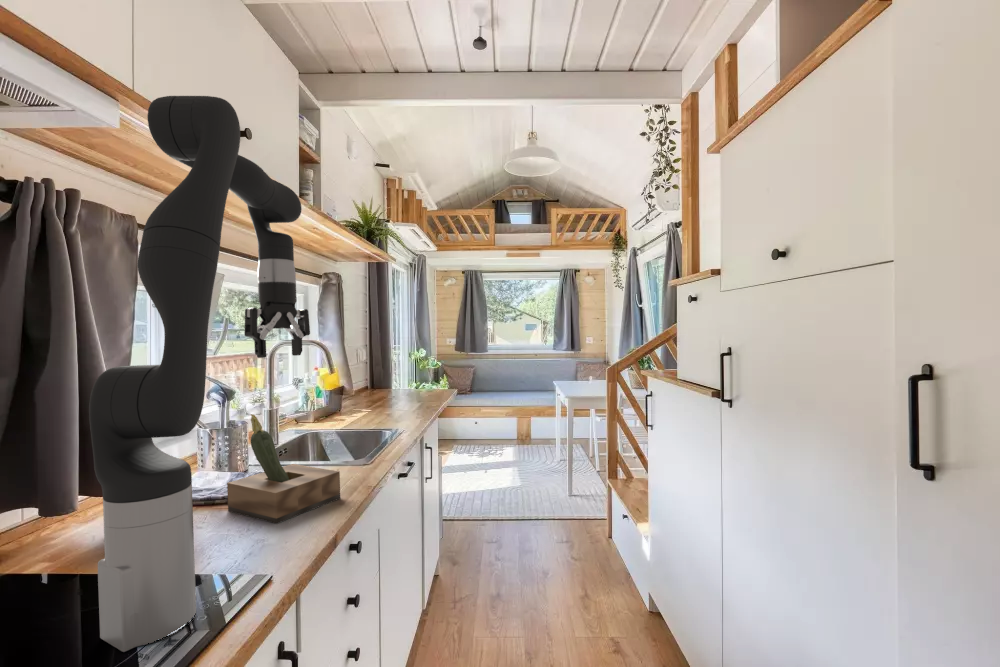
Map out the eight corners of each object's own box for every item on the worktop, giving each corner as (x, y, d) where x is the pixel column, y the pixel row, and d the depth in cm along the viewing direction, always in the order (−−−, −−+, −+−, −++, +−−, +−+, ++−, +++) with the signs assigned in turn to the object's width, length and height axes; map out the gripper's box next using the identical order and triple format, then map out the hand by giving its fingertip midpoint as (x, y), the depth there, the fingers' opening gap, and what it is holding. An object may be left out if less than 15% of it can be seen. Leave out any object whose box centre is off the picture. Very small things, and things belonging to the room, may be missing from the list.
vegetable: (291, 500, 104) (254, 414, 102) (272, 507, 104) (235, 421, 102) (299, 491, 109) (264, 409, 106) (281, 497, 109) (245, 415, 106)
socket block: (276, 523, 96) (275, 493, 96) (228, 511, 104) (227, 482, 103) (340, 498, 109) (339, 471, 109) (293, 488, 117) (292, 463, 117)
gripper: (257, 278, 98) (260, 358, 98) (315, 282, 111) (318, 354, 111) (235, 281, 102) (237, 358, 102) (294, 285, 114) (296, 354, 114)
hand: (279, 356), depth 106 cm, fingers open, 8 cm apart
